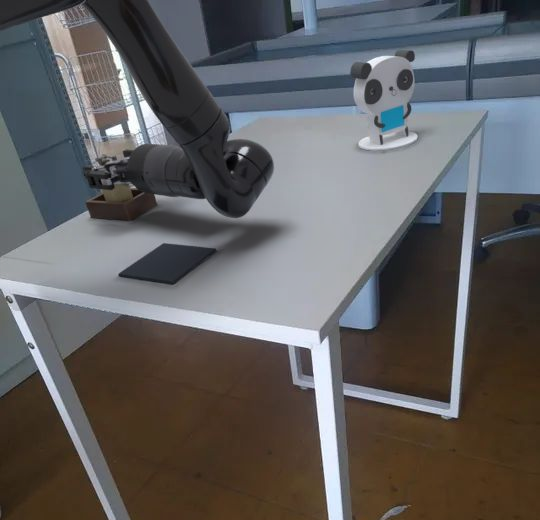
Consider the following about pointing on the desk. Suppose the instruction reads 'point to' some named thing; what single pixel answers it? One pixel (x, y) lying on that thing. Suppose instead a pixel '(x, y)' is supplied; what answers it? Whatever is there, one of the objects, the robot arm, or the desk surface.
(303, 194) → the desk surface
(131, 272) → the mat
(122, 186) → the lighter
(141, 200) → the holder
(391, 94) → the panda figurine
